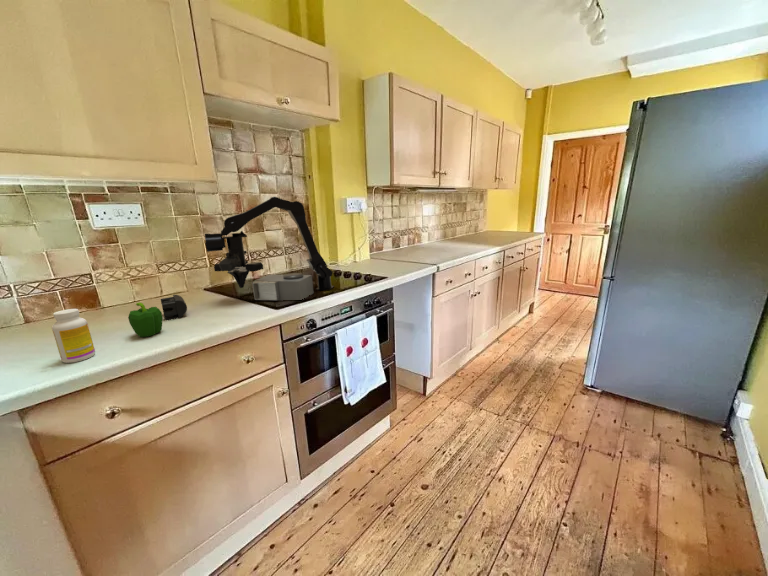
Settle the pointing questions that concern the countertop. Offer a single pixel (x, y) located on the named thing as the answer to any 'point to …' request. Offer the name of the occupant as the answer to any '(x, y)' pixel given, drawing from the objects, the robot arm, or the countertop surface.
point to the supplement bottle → (72, 336)
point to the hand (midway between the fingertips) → (241, 287)
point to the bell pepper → (146, 320)
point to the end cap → (173, 307)
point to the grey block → (292, 285)
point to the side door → (265, 290)
